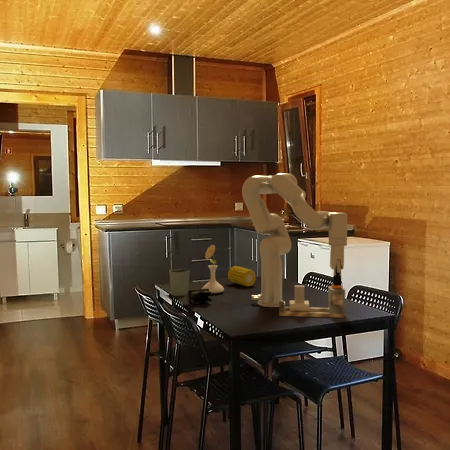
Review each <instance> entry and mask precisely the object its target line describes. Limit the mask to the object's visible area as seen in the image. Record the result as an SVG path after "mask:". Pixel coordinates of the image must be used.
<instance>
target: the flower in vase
mask: <svg viewBox="0 0 450 450" xmlns="http://www.w3.org/2000/svg"><path fill="white" fill-rule="evenodd" d="M215 252H216V246H215V244H211V245H210V246H209V247H207V250H206V252H205V254H204V255H205V256H204V258H205V259H206V260H208V259H209V261H210V263H211V265H207V268H209V270H210V271H209V272H210V279H209V281H208V282H207V283H206V284H205V285H204V286H202V288H201V289H209V291H210V292H211V293H212V294H220V293H222V292H224V290H225V288H224V286H222V285H221V284H220V283H219V282H218V281H217V280H216V272H217V271H216V270H217V268H218V265H217V260H216V259H215V255H214V253H215ZM211 257H213V259H212V258H211Z"/></svg>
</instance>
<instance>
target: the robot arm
mask: <svg viewBox="0 0 450 450" xmlns="http://www.w3.org/2000/svg"><path fill="white" fill-rule="evenodd" d="M241 188H242V189H241V194H242V195H241V196H242V199H243V201H244V204H245V205H246V208H247V211H248V212H249V213H248V214H249V216H250V219H251V221H252V222H251V223H252V224H253V226H254V229H255V232H256V233H257V234H259V235H265V236H266V235H267V236H266V237H264V238H263V239H262V240H261V241H260V243H259V254H260V263H261V269H260V270H261V275H260V276H261V277H260V278H261V280H260V281H261V282H260V283H261V285H260V286H261V290H260V291H261V292H260V294H257V295H256V294H252V295H251V300H254V301H257V305H258V306H261V307H265V308H279V301H283V262H282V259H281V256H283V255H286V254H288V253H290V251H291V249H292V241H291V238H290V235H289V232H288V230H287V227H286V224H285V222H284V220H283V219H282V217H281V216H280V215H279V214H277V213H270V211H269V209H268V207H267V205H266V203H265V201H264V199H263V198H262V196H261V195H268V194H269V195H272V194H278V195H279V197H281V198H282V199H284V201H285V202H286V203H288V204H289V206H290V207H291V208H292V210H293V213H294V215H295V216H296V218H297V219H298V220H299V221H301V222H302V223H303V225H305V226H306V227H307V228H309V229H310V230H313V231H314V230H315V231H316V230H325V229H328V246H330V252H329V253H330V254H329V256H330V257H329V267H330V269H331V270H333V275H332V277H333V279H332V280H333V281H332V284H333V285H340V286H341V285H342V270H344V267H345V265H344V264H345V247H346V246H348V214H347V213H346V212H342V211H341V212H339V211H338V212H335V211H333V212H332V211H331V212H330V211H324V210H323V211H322V210H321V211H316V210H315V209H314V208H313V207H311V206H310V205H309V203H307V201H306V199H305V198H306V195H307V194H306V191H304V190H303V189H302V188H301V187H300V186H299V185H298V180H297V178H296V176H295V175H293V174H291V173H286V172H285V173H284V172H283V173H282V172H279V173H276V174H274V175H252V176H249V177H247V179H246V180H245V181H244V183H243V185H242V187H241ZM268 235H269V236H268ZM284 306H286V301H284Z"/></svg>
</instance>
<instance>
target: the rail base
mask: <svg viewBox="0 0 450 450" xmlns="http://www.w3.org/2000/svg"><path fill="white" fill-rule="evenodd" d="M327 294H328V296H327V301H328V302H327V303H328V304H327V307H313V306H311V307H310V306H309V311H292V310H290V306H285V305H284V302H285V301H284V300H282V301H279V307H278V316H280V317H282V316H283V317H284V316H286V317H308V318H309V317H313V318H316V317H317V318H345V313H346V312H345V311H346V307H345V306H346V305H345V303H346V302H345V301H346V289H345V288H344V287H343V285H342V287H341V289H334V288H332V285H328V293H327Z"/></svg>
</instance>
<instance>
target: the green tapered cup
mask: <svg viewBox="0 0 450 450" xmlns="http://www.w3.org/2000/svg"><path fill="white" fill-rule="evenodd" d="M168 272H169V284H170V295H171V296H174V297H182V296H183V297H184V296H187V292H188V291H189V280H190V272H191V271H190V270H189V269H183V268H181V269H180V268H176V269H174V268H173V269H169V271H168Z"/></svg>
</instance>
